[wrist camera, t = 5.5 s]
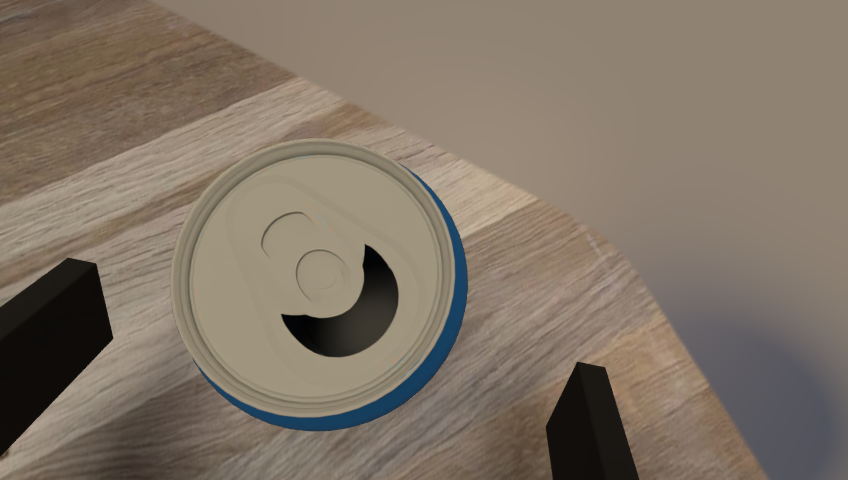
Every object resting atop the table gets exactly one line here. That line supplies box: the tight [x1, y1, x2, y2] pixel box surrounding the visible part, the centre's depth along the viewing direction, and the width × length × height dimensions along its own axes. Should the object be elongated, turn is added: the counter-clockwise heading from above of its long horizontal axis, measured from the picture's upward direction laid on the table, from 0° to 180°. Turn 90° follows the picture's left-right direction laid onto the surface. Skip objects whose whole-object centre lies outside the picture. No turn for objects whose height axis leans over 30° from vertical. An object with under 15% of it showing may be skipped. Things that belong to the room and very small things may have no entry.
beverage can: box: [170, 138, 468, 431], centre depth 15 cm, size 6×6×12 cm
